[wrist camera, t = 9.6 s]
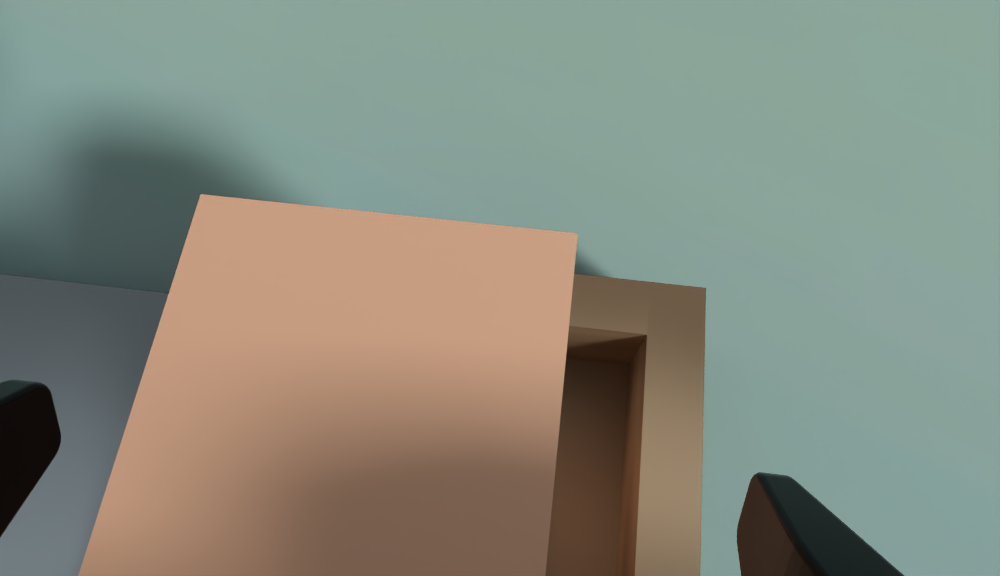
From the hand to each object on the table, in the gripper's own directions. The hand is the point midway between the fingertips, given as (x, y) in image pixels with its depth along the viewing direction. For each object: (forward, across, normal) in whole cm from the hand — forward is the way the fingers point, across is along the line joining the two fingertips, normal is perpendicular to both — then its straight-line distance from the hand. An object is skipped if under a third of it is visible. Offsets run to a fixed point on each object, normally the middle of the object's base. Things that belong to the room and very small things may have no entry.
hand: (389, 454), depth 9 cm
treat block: (+5, 0, +5) cm, 8 cm away
